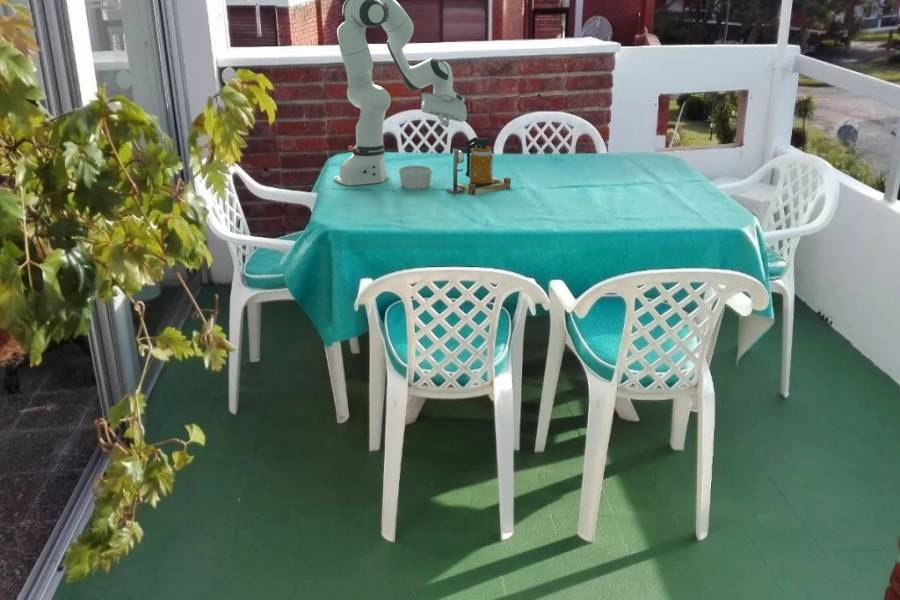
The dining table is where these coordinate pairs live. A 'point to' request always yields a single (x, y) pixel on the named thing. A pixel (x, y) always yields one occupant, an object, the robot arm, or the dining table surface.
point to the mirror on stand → (457, 158)
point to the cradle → (498, 186)
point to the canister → (479, 162)
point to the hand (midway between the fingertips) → (444, 124)
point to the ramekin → (415, 177)
